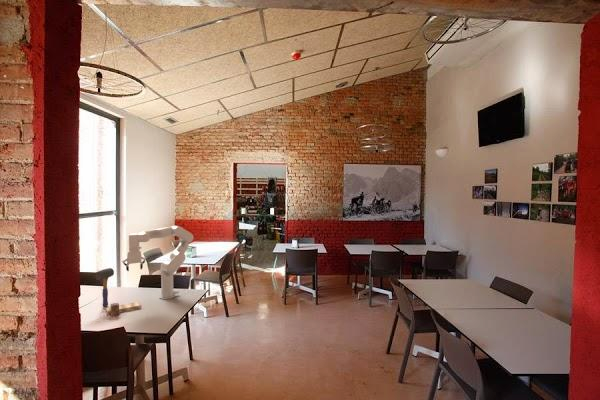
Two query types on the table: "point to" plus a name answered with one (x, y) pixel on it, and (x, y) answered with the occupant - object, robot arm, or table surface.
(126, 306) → the board
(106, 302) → the rubber mallet
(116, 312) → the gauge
